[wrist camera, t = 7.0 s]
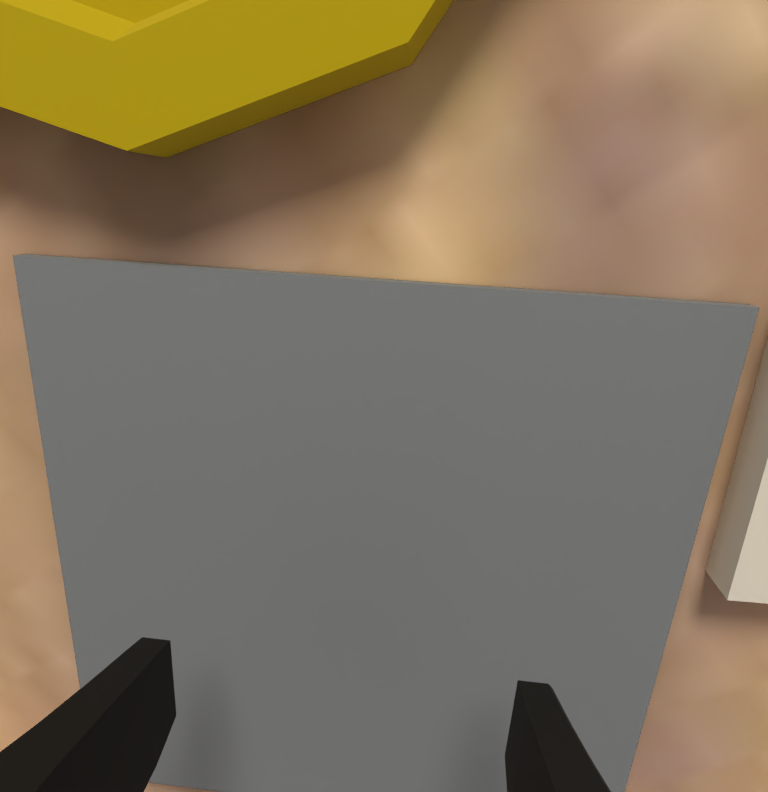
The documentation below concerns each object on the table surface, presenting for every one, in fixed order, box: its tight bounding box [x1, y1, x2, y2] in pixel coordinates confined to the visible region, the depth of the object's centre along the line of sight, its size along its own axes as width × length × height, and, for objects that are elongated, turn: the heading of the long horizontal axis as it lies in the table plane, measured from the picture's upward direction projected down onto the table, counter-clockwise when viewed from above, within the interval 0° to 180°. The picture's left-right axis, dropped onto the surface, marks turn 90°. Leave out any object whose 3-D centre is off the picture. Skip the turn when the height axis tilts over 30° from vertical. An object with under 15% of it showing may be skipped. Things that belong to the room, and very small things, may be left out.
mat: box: [13, 254, 759, 792], centre depth 15 cm, size 16×16×1 cm
